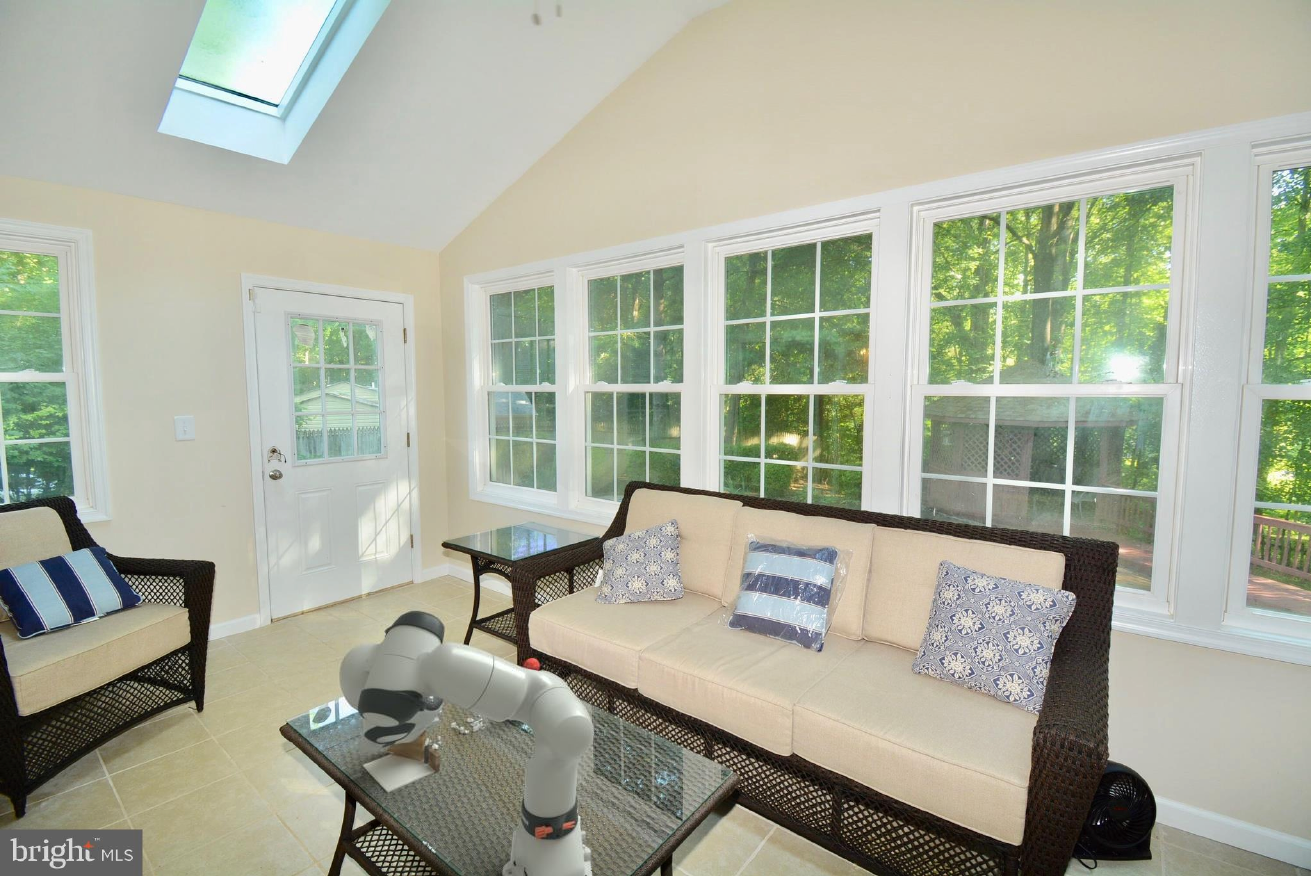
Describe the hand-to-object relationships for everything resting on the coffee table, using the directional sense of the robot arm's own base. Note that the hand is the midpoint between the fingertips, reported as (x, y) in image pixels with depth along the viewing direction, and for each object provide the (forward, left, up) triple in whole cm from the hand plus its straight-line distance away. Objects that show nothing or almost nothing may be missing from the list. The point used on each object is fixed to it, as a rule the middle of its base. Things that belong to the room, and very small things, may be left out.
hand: (390, 743), depth 161 cm
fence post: (-7, -10, -4) cm, 13 cm away
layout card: (-6, -3, -4) cm, 8 cm away
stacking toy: (+11, -40, -4) cm, 42 cm away
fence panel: (-1, -4, -3) cm, 5 cm away
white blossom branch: (+7, -16, -4) cm, 18 cm away
